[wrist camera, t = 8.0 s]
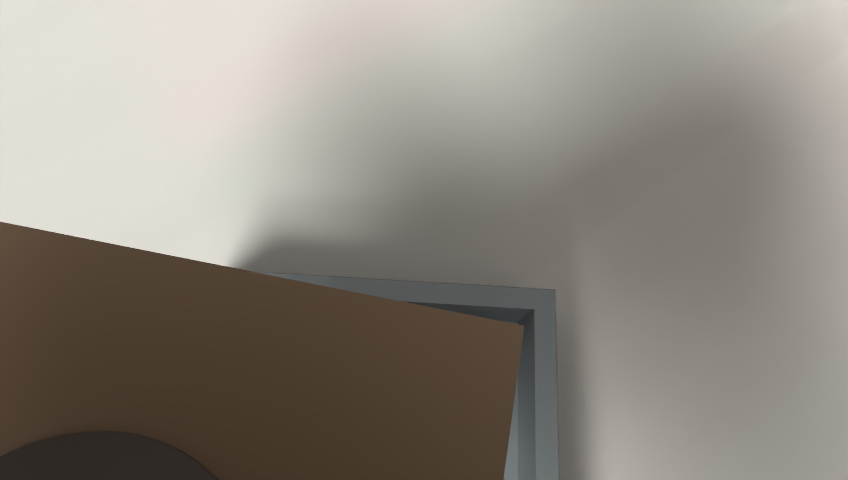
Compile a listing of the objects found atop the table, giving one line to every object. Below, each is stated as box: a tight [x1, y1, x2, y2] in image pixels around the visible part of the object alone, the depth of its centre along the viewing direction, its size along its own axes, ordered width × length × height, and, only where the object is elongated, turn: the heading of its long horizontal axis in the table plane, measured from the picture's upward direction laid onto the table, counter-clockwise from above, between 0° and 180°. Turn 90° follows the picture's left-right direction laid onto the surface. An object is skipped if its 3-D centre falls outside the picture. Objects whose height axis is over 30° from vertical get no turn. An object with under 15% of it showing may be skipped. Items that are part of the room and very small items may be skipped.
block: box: [0, 222, 524, 480], centre depth 9 cm, size 4×4×13 cm
